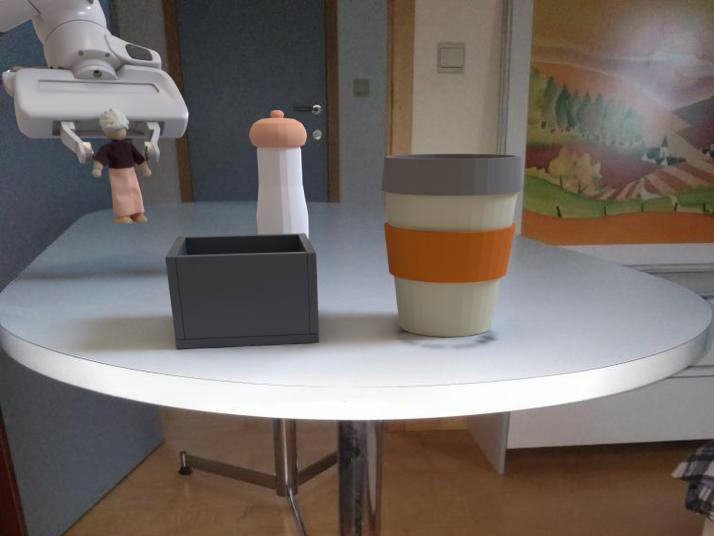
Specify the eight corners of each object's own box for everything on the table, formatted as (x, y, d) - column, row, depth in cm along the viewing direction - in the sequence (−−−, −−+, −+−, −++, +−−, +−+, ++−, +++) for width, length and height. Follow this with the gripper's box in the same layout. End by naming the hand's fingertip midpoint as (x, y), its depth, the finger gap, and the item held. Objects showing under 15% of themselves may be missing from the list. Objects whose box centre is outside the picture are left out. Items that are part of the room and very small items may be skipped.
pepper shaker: (246, 272, 96) (234, 110, 88) (290, 265, 101) (282, 111, 92) (279, 279, 91) (270, 109, 83) (323, 272, 96) (319, 110, 87)
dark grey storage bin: (176, 349, 63) (165, 257, 60) (186, 315, 74) (177, 236, 71) (319, 342, 65) (316, 252, 61) (308, 310, 76) (305, 233, 73)
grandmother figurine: (139, 218, 94) (124, 108, 88) (160, 219, 92) (147, 108, 87) (92, 224, 88) (73, 108, 83) (114, 226, 87) (96, 107, 81)
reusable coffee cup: (420, 305, 78) (424, 153, 71) (530, 319, 72) (546, 154, 65) (355, 330, 69) (353, 157, 62) (475, 349, 62) (488, 160, 56)
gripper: (-4, 42, 82) (29, 139, 79) (170, 52, 92) (206, 138, 89) (-2, 88, 87) (30, 180, 84) (163, 93, 97) (196, 175, 94)
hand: (121, 159), depth 87 cm, fingers closed on grandmother figurine, 6 cm apart
